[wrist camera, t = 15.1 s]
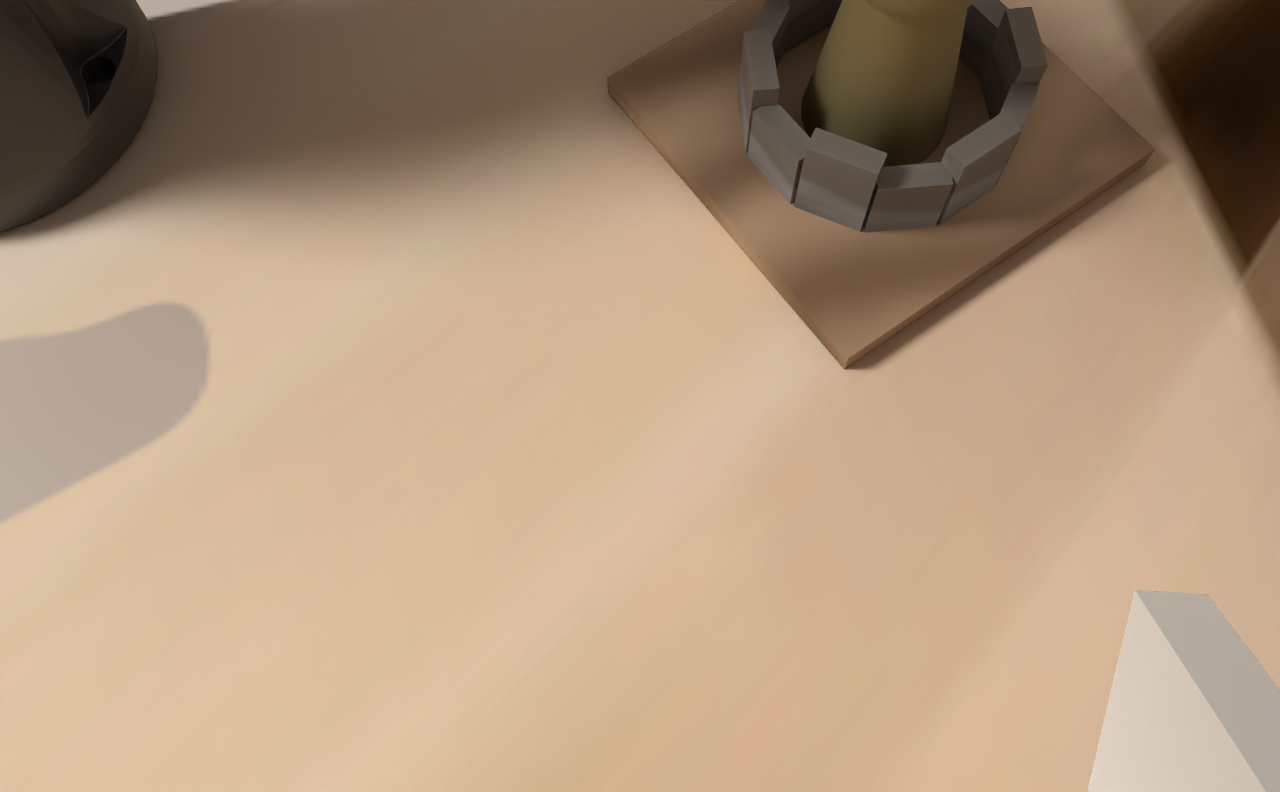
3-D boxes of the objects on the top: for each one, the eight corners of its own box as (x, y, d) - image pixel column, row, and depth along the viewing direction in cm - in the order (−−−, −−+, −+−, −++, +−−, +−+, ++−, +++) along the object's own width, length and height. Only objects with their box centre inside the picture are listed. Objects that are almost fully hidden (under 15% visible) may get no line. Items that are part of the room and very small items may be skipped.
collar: (608, 92, 48) (602, 11, 44) (894, -75, 52) (917, -167, 47) (844, 369, 43) (866, 310, 39) (1145, 163, 46) (1198, 86, 42)
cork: (932, 48, 48) (1007, -172, 38) (960, 168, 45) (1047, -32, 35) (791, 59, 48) (827, -158, 37) (811, 180, 45) (856, -17, 35)
